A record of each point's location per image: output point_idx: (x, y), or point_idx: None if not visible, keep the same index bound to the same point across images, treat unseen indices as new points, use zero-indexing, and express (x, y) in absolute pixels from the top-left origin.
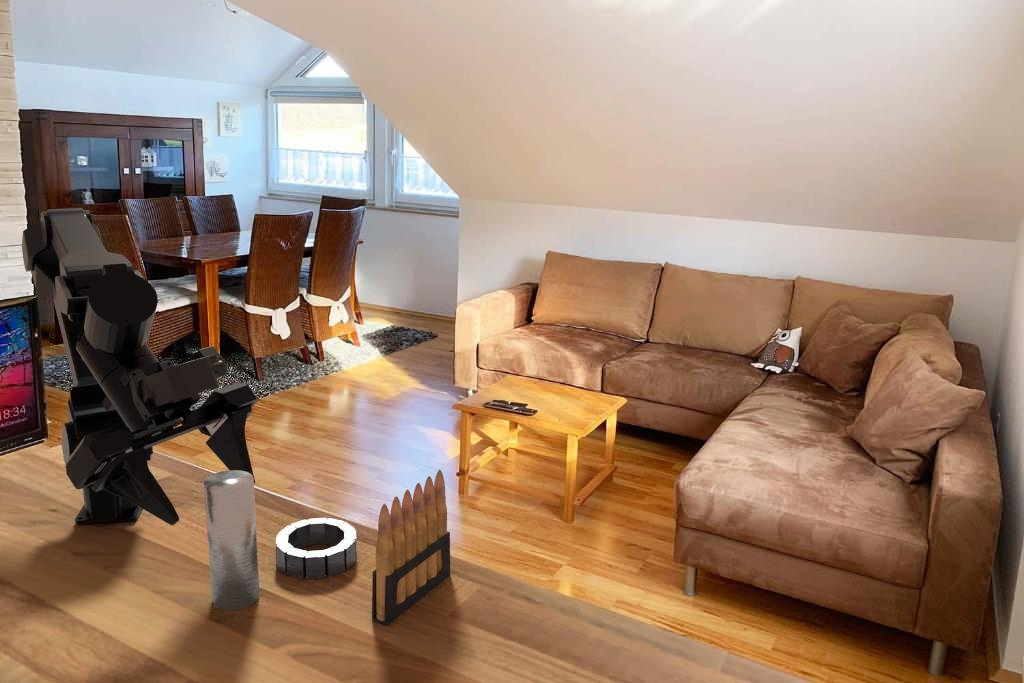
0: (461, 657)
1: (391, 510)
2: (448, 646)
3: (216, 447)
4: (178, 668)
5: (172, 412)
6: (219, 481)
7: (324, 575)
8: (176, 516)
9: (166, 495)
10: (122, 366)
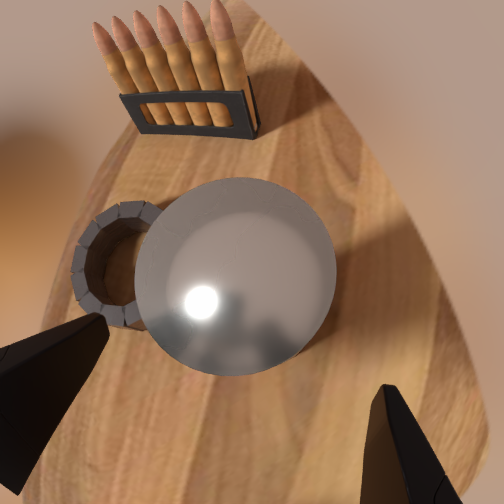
0: (280, 65)
1: (196, 19)
2: (269, 75)
3: (21, 459)
4: (436, 292)
5: None
6: (254, 298)
7: None
8: (390, 390)
9: (398, 446)
10: None
